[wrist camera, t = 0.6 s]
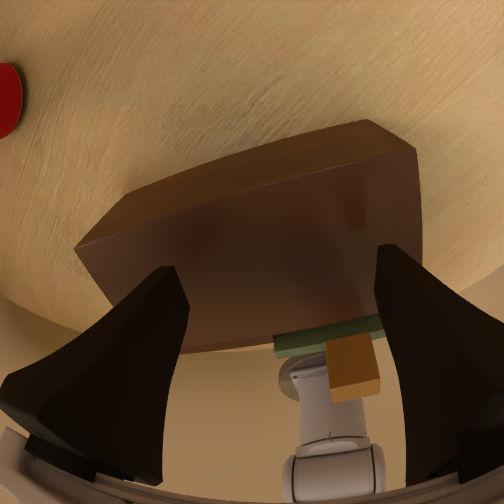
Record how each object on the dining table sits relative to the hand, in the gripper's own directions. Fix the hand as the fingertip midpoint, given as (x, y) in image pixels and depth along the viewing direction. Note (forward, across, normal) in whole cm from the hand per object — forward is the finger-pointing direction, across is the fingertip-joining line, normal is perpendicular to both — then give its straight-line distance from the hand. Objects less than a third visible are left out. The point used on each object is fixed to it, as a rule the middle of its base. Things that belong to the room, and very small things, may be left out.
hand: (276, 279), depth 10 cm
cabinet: (+9, +2, +2) cm, 9 cm away
